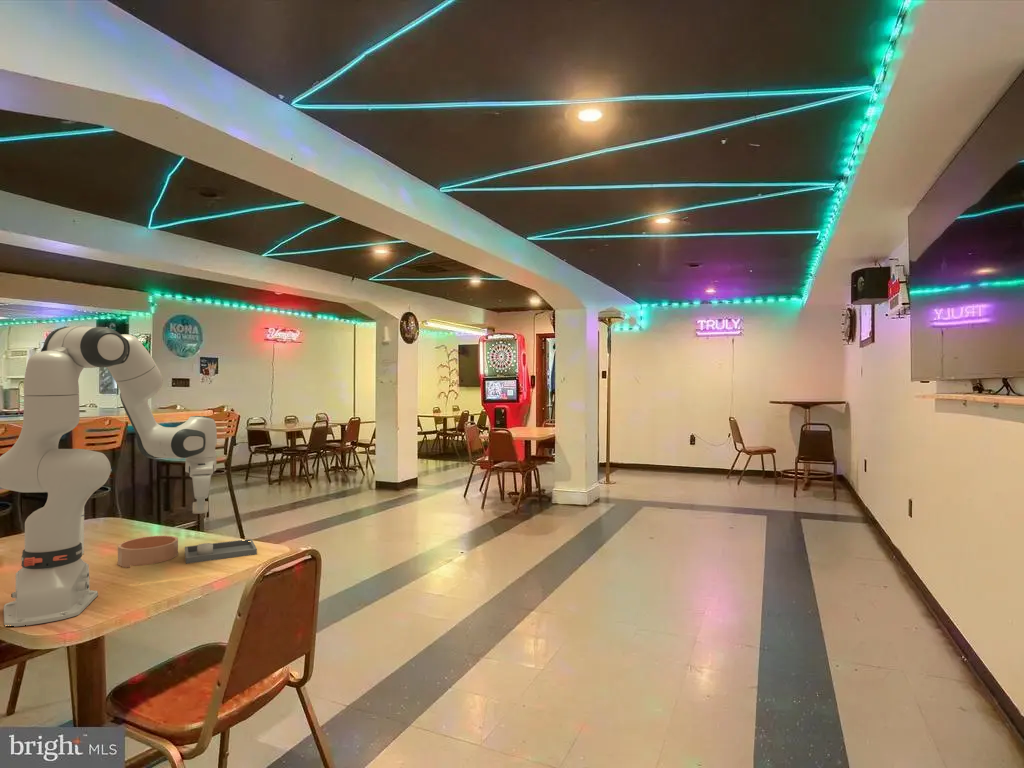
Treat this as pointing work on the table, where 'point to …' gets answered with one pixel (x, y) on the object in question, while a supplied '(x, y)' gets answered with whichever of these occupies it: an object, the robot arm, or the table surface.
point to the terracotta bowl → (147, 550)
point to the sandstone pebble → (200, 511)
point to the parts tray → (222, 551)
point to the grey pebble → (204, 549)
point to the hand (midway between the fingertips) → (200, 508)
